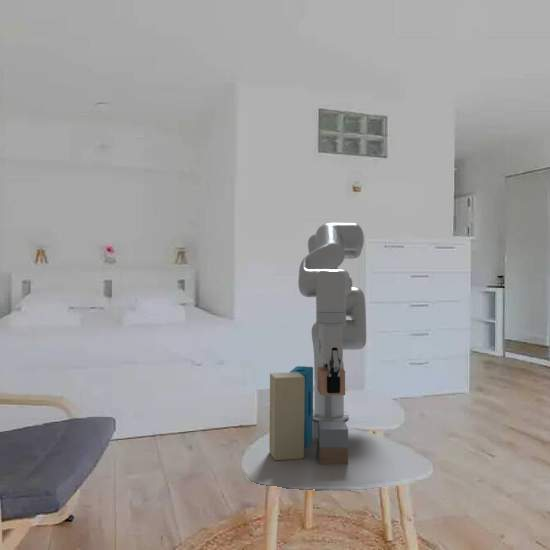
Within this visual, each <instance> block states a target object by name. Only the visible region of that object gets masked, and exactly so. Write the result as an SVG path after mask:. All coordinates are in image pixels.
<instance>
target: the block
mask: <svg viewBox="0 0 550 550" xmlns="http://www.w3.org/2000/svg"><path fill="white" fill-rule="evenodd" d="M291 372H298V373H300V374H301V375H303V376H304V377H305V407H304V448H307V447H308V446H309V445H310V443H311V441H312V439H313V421H314V420H313V410H314V366H303V365H302V366H300V365H297V366H295V367H294V368H293V369H292V370H290V371H289V372H288V373H291Z"/></svg>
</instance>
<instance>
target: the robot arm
mask: <svg viewBox="0 0 550 550" xmlns="http://www.w3.org/2000/svg"><path fill="white" fill-rule="evenodd" d="M364 238H365V236H364V231H363V229H362V227H361V226H360V225H359V224H358V223H355V222H330V223H325V224H322V225H321V226H319V227H318V228H317V230H316V233H314V234H312V235H311V236H310V237H309V238H308V240H307V248H308V249H307V250H308V254H306V256H305V257H304V258H303V259H302V260H301V262H300V265H299V271H298V283H297V284H298V290H299V293H300V294H301V295H302V296H303V297H306V298H315V306H316V308H315V309H316V310H315V311H316V312H315V318H316V321H315V322H314V323H313V325H312V327H311V340H312V347H313V348H312V349H313V361H314V363H313V364H314V366H313V421H316V422H318V421H346V420H348V419H349V413H348V412H347V411H345V403H344V402H345V395H325V396H321V395H320V393H319V392H318V367H328V377H327V392H328V393H340V369H339V367H341V368H342V369H344V370H345V365H344V361H343V357H344V356H343V354H344V353H343V352H344V351H343V350H346V351H347V350H351V351H353V350H354V351H355V350H362V349H363V348H365V346H366V344H367V318H366V316H367V314H366V311H367V310H366V298H365V293H364V291H363V290H362V289H361V288H358V287H353V278H352V275H350V273H349V272H348V270H346V269H339V266H341V265H342V264H343V262H344V260H345V259H346V260H347V259H353V260H354V259H357V258H359V257H360V256H361V254H362V250H363V247H364V244H365V243H364V242H365V239H364ZM347 317H349V318H350V319H347ZM331 367H332V368H331Z"/></svg>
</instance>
